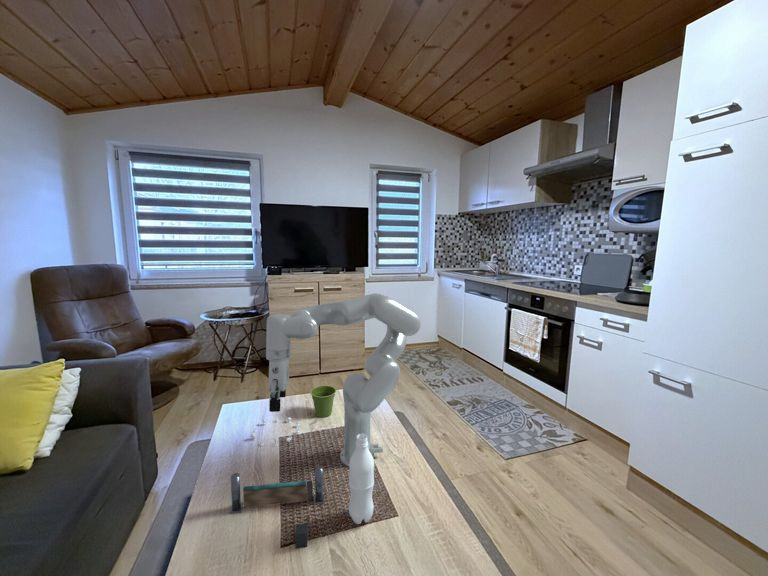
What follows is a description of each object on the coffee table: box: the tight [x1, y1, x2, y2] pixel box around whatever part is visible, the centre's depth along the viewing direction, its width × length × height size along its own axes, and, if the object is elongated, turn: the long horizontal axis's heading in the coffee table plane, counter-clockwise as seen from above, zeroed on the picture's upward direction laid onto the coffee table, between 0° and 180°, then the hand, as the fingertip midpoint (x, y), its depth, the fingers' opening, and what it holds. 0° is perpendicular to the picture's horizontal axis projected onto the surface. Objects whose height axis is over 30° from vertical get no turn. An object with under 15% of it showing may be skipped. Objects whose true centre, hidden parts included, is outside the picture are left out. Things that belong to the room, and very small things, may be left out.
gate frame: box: [228, 465, 326, 549], centre depth 91 cm, size 27×17×11 cm, turn 99°
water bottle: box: [348, 434, 375, 525], centre depth 93 cm, size 7×7×25 cm
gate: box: [242, 479, 314, 508], centre depth 98 cm, size 20×2×6 cm, turn 99°
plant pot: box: [309, 384, 337, 418], centre depth 150 cm, size 12×12×11 cm
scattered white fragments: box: [250, 417, 301, 448], centre depth 135 cm, size 19×20×4 cm
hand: (277, 403), depth 106 cm, fingers open, 9 cm apart
